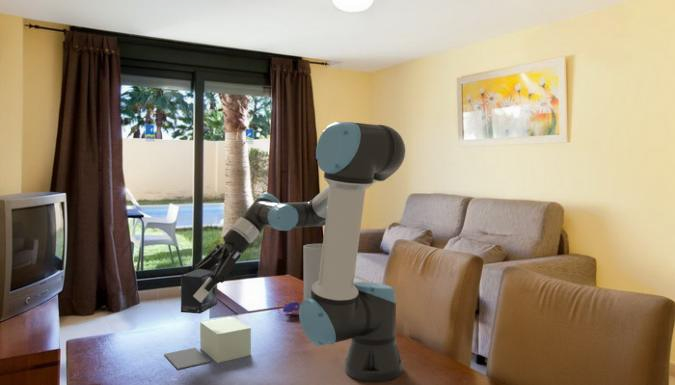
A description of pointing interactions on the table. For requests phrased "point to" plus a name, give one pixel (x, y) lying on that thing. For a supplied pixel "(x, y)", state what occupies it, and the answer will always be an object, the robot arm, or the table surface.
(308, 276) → the cylinder vase
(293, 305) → the game controller
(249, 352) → the step
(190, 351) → the mat
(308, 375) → the table surface
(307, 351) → the table surface
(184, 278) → the small box
